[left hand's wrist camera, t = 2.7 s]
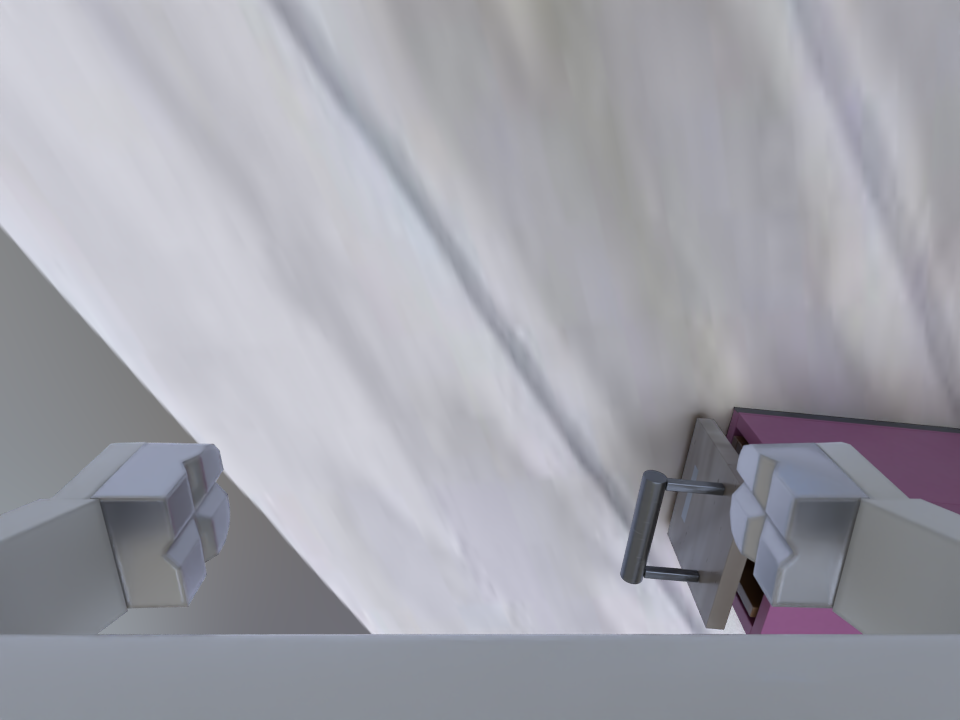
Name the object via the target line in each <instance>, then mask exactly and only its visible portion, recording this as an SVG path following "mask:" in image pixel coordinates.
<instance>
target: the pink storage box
mask: <svg viewBox="0 0 960 720" xmlns="http://www.w3.org/2000/svg"><path fill="white" fill-rule="evenodd" d="M734 436H744V438H745V439H746V440H747V442H748V443H749V444H780V443H828V442H844V443H847V444H850V445H851V446H853V447H854V448H855V449H856V450H857V451H858V452H859V453H860V454H861V455H862V456H863V457H865V458H866V459H867V460H868V461H869V462H870V463H871V464H872V465H873V466H874V467H876V468H877V469H878V470H879V471H880V472H881V473H882V474H883V475H884V476H885V477H886V478H888V479H889V480H890V481H891V482H892V483H893V484H894V485H895V486H896V487H897V488H898V489H900V490H901V491H902V492H903V493H904V494H905V495H906V496H907V497H908V498H909V499H922V500H925V501H927V502H930V503H932V504H935V505H937V506H940V507H942V508H944V509H947V510H949V511H952V512H954V513H957V514H959V515H960V429H956V428H946V427H935V426H925V425H915V424H904V423H894V422H883V421H873V420H863V419H852V418H842V417H831V416H821V415H810V414H800V413H790V412H779V411H769V410H758V409H748V408H737V407H734V412H733V415H732V419H731V422H730V426H729V430H728V433H727V437H726V438H727V439H728V441H729V442H730V444H732V441H733V437H734ZM732 605H733V608H734V610H735V612H736V614H737V616H738V618H739V620H740V622H741V624H742V626H743V628H744V631H745V633H746V634H862V633H861V632H860V631H858V630H857V629H856V628H854V627H853V626H852V625H850V624H849V623H848V622H846V621H845V620H844V619H842V618H841V617H840V616H838V615H837V614H836V613H834V612H833V611H832V610H833V608H800V607H772V606H771V604H770V602H769V601H768V599H767V597H766V596H765V594H764V596H763V598H762V601H761V604H760V607H759V610H758V613H757V616H756V617H750V616H749V614H748V612H747V610H746V608H745V606H744V604H743V602H742V600H741V598H740V596H739V594H738V592H737V591H736V594H735V597H734V600H733V603H732Z"/></svg>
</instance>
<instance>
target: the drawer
mask: <svg viewBox="0 0 960 720" xmlns="http://www.w3.org/2000/svg"><path fill="white" fill-rule="evenodd" d="M744 445H750V444H749V443H748V442H747V440H746V439H745V438H744V436H734V437H733V441H732V444H730V442H729V441H728V439H727V438H726V436H725V435H724V433H723V432H722V431H721V429H720V428H719V426H718V425H717V423H716V422H715V421H714V419H706V418H697V421H696V425H695V429H694V433H693V437H692V441H691V444H690V448H689V452H688V456H687V460H686V464H685V468H684V471H683V475H682V479H673V478H667V477H666V476H665V475H664V474H663V473H661V472H658V471H655V470H647V471H645V472H644V473H643V477H642V481H641V486H640V490H639V494H638V499H637V503H636V507H635V512H634V516H633V520H632V525H631V529H630V533H629V538H628V542H627V546H626V550H625V555H624V559H623V563H622V568H621V572H620V575H621V577H622V579H623V580H624V581H626V582H628V583H631V584H639V583H640V582H641V581H642V580H643V576H644V578H651V579H663V580H674V581H685V582H687V583H688V585H689V588H690V590H691V593H692V595H693V598H694V600H695V603H696V605H697V607H698V610H699V612H700V615H701V617H702V620H703V622H704V625H705V627H706V628H711V629H722V630H724V628H725V625H726V622H727V619H728V616H729V613H730V610H731V607H732V603H733V600H734V597H735V594H736V591H737V592H738V594H739V596H740V598H741V600H742V602H743V604H744V606H745V608H746V610H747V612H748V614H749V616H750V617H756V616H757V613H758V610H759V607H760V604H761V601H762V598H763V596H764V592H763V590H762V589H761V587H760V585H759V584H758V582H757V580H756V579H755V577H754V575H753V573H754V567H755V562H753V561H751V560H750V559H748V558H747V557H745V556H743V555H742V554H741V553H740V551H739V549H738V547H737V545H736V543H735V541H734V537H733V534H732V531H731V522H730V507H731V500H732V494H733V493H734V492H735V491H736V490H737V489H738V488H739V487H740V486H741V485H742V484H743V483H744V480H743V479H742V477H741V476H740V474H739V473H738V471H737V470H736V469H737V464H738V459H739V454H740V452H741V450H742V448H743V446H744ZM665 490H667V491H677V492H678V495H677V498H676V502H675V506H674V510H673V514H672V518H671V522H670V525H669V529H668V533H667V534H668V536H669V539H670V541H671V544H672V546H673V549H674V551H675V554H676V556H677V558H678V561H679V563H680V566H681V568H682V569H678V568H666V567H655V566H646V564H647V560H648V556H649V551H650V547H651V543H652V539H653V535H654V531H655V527H656V523H657V519H658V515H659V511H660V507H661V503H662V499H663V495H664V491H665Z"/></svg>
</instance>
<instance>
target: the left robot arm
mask: <svg viewBox="0 0 960 720" xmlns="http://www.w3.org/2000/svg"><path fill="white" fill-rule="evenodd" d="M223 470H224V469H223V465H222V460H221V455H220V451H219V449H218V448H217V447H216V446H215V445H214V444H190V443H147V442H130V443H113V444H110V445H109V446H108V447H107V448H105V449H104V450H103V451H102V452H101V453H100V454H99V455H98V456H97V457H96V458H95V459H93V460H92V461H91V462H90V463H89V464H88V465H87V466H86V467H85V468H84V469H82V470H81V471H80V472H79V473H78V474H77V475H76V476H75V477H74V478H73V479H71V480H70V481H69V482H68V483H67V484H66V485H65V486H64V487H63V488H62V489H61V490H59V491H58V492H57V493H56V494H55V495H54V496H53V497H52V498H51V499H38V500H35V501H33V502H31V503H28V504H25V505H23V506H20V507H18V508H16V509H13V510H11V511H8V512H6V513H3V514H1V515H0V720H960V515H959V514H957V513H954V512H952V511H949V510H947V509H944V508H942V507H940V506H937V505H935V504H932V503H930V502H927V501H925V500H922V499H909V498H908V497H907V496H906V495H905V494H904V493H903V492H902V491H901V490H900V489H898V488H897V487H896V486H895V485H894V484H893V483H892V482H891V481H890V480H889V479H888V478H886V477H885V476H884V475H883V474H882V473H881V472H880V471H879V470H878V469H877V468H876V467H874V466H873V465H872V464H871V463H870V462H869V461H868V460H867V459H866V458H865V457H863V456H862V455H861V454H860V453H859V452H858V451H857V450H856V449H855V448H854V447H853V446H851V445H850V444H847V443H844V442H828V443H780V444H750V445H744V446H743V448H742V450H741V452H740V454H739V459H738V464H737V469H736V470H737V471H738V473H739V474H740V476H741V477H742V479H743V480H744V483H743V484H742V485H741V486H740V487H739V488H738V489H737V490H736V491H735V492H734V493H733V494H732V500H731V507H730V522H731V531H732V534H733V537H734V541H735V543H736V545H737V547H738V549H739V551H740V553H741V554H742V555H743V556H745V557H747V558H748V559H750V560H751V561H753V562H755V567H754V573H753V575H754V577H755V579H756V580H757V582H758V584H759V585H760V587H761V589H762V590H763V592H764V594H765V596H766V597H767V599H768V601H769V602H770V604H771V606H772V607H800V608H833V610H832V611H833V612H834V613H836V614H837V615H838V616H840V617H841V618H842V619H844V620H845V621H846V622H848V623H849V624H850V625H852V626H853V627H854V628H856V629H857V630H858V631H860V632H861V633H862V634H98V633H99V632H100V631H102V630H103V629H105V628H106V627H107V626H109V625H110V624H111V623H113V622H114V621H115V620H117V619H118V618H119V617H121V616H122V615H123V614H125V613H126V612H127V608H158V607H188V606H189V604H190V602H191V601H192V599H193V597H194V596H195V594H196V592H197V590H198V589H199V587H200V585H201V584H202V582H203V580H204V579H205V577H206V575H207V573H206V567H205V562H207V561H209V560H210V559H212V558H213V557H215V556H217V555H218V554H219V552H220V551H221V549H222V547H223V545H224V543H225V541H226V537H227V533H228V529H229V525H230V505H229V499H228V494H227V493H226V492H225V491H224V490H223V489H222V488H221V487H220V486H219V485H218V484H217V483H216V480H217V479H218V477H219V476H220V474H221V473H222V471H223Z"/></svg>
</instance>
